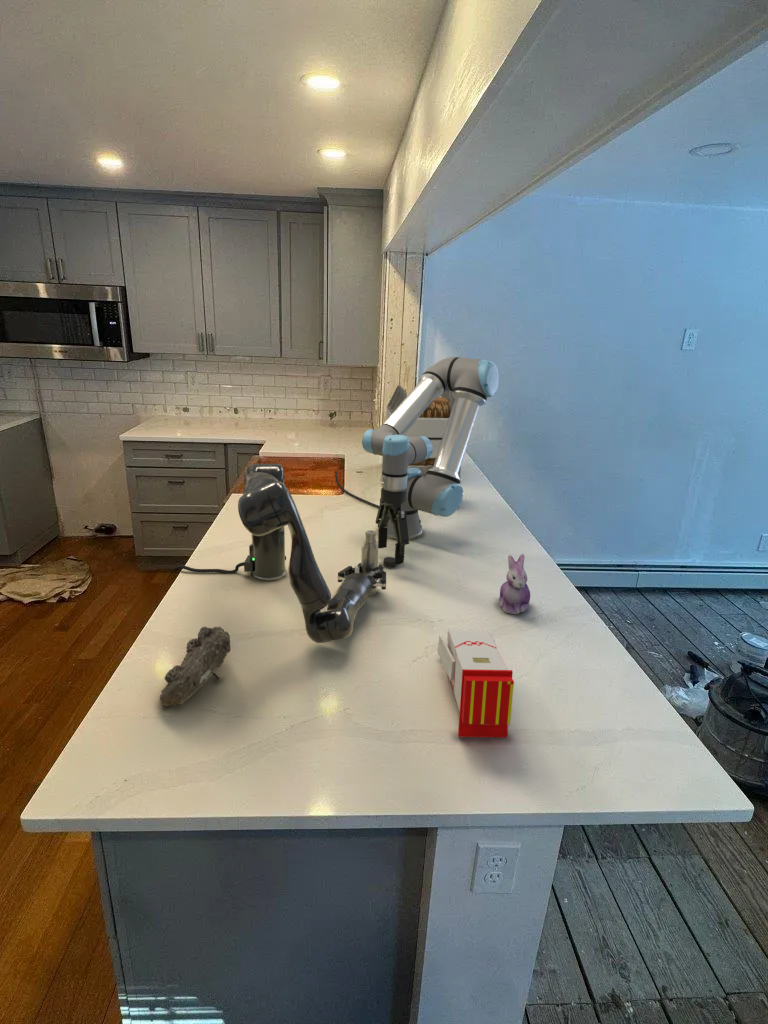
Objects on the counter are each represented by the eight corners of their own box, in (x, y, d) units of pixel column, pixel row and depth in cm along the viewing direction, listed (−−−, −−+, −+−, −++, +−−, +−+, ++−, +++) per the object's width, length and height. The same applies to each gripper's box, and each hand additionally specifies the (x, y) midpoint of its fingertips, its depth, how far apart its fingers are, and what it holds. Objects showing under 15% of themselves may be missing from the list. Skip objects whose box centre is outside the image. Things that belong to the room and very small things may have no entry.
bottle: (364, 596, 156) (366, 536, 150) (357, 589, 160) (359, 530, 154) (379, 593, 158) (382, 534, 152) (372, 586, 162) (374, 528, 155)
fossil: (184, 629, 128) (231, 598, 123) (214, 657, 131) (261, 628, 126) (138, 700, 109) (191, 667, 104) (173, 731, 112) (227, 701, 107)
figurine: (512, 619, 147) (519, 566, 142) (488, 601, 156) (494, 551, 151) (540, 611, 151) (548, 560, 146) (515, 594, 160) (522, 546, 155)
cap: (398, 564, 176) (398, 559, 175) (390, 569, 173) (391, 563, 172) (388, 561, 178) (388, 555, 177) (380, 565, 175) (380, 559, 174)
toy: (488, 613, 130) (523, 677, 101) (484, 667, 133) (517, 744, 104) (435, 612, 130) (455, 676, 101) (432, 666, 133) (451, 743, 103)
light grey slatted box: (382, 463, 289) (386, 382, 275) (445, 464, 293) (451, 384, 279) (390, 482, 257) (394, 392, 243) (460, 483, 261) (468, 394, 247)
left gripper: (380, 584, 140) (397, 557, 156) (326, 575, 144) (348, 550, 159) (379, 611, 143) (396, 582, 159) (326, 601, 146) (347, 574, 162)
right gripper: (366, 477, 176) (364, 542, 183) (399, 502, 155) (395, 573, 162) (388, 476, 179) (385, 539, 186) (424, 499, 158) (419, 569, 165)
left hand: (372, 566), depth 159 cm, fingers closed on bottle, 4 cm apart
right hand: (390, 555), depth 174 cm, fingers open, 12 cm apart
